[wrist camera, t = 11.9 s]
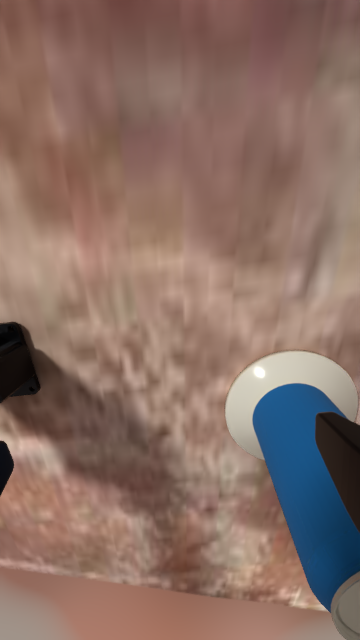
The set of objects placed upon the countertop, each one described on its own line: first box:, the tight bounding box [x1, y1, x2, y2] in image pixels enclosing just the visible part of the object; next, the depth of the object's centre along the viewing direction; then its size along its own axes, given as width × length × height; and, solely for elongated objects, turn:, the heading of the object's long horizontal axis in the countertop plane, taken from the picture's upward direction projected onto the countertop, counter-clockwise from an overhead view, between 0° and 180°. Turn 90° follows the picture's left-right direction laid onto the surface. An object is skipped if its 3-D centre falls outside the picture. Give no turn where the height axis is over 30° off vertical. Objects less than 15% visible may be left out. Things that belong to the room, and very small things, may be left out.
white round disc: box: [225, 350, 358, 460], centre depth 21 cm, size 11×11×1 cm
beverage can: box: [252, 383, 360, 640], centre depth 15 cm, size 6×6×12 cm
